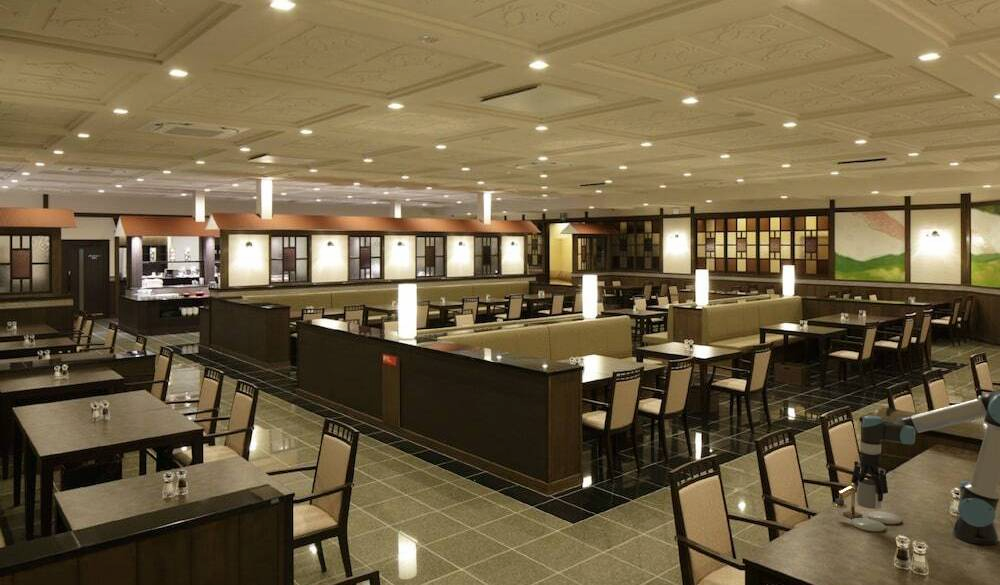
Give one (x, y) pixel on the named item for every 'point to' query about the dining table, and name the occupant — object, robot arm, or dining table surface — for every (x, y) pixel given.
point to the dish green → (868, 524)
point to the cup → (866, 493)
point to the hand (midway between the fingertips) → (868, 504)
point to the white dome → (884, 517)
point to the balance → (840, 504)
